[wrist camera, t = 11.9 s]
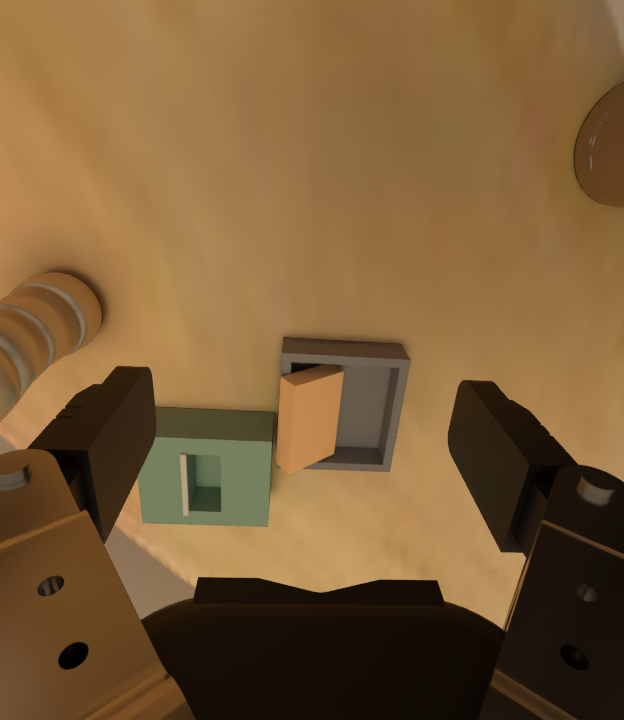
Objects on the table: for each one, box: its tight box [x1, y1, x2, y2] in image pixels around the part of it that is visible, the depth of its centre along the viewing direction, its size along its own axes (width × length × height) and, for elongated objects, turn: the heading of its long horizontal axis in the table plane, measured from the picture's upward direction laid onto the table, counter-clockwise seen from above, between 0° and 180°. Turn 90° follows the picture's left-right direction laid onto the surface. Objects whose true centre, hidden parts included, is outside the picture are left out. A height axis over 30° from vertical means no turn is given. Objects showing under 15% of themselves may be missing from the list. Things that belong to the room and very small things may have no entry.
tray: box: [276, 337, 410, 472], centre depth 42 cm, size 11×12×4 cm
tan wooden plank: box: [276, 364, 344, 474], centre depth 41 cm, size 2×6×9 cm
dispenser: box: [138, 407, 274, 527], centre depth 43 cm, size 12×10×5 cm
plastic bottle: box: [0, 272, 102, 421], centre depth 30 cm, size 6×7×20 cm
